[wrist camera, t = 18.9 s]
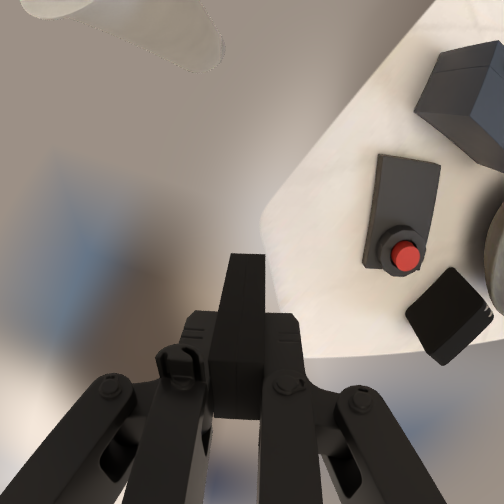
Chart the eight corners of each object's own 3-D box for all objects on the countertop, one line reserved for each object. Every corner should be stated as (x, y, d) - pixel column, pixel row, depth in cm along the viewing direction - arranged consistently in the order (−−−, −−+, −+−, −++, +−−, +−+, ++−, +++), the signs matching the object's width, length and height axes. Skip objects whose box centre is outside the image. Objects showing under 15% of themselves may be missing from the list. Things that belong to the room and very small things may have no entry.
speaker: (477, 163, 33) (540, 188, 21) (413, 111, 31) (474, 116, 20) (501, 108, 29) (566, 118, 18) (440, 52, 28) (503, 39, 16)
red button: (393, 239, 35) (399, 245, 33) (416, 241, 35) (422, 247, 33) (388, 264, 36) (393, 270, 34) (411, 265, 36) (416, 271, 34)
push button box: (378, 153, 34) (388, 158, 31) (434, 163, 34) (448, 168, 30) (361, 262, 40) (369, 275, 36) (414, 265, 39) (425, 277, 36)
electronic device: (403, 312, 43) (428, 357, 33) (450, 264, 39) (486, 301, 30) (417, 325, 44) (442, 368, 34) (462, 280, 40) (496, 317, 31)
